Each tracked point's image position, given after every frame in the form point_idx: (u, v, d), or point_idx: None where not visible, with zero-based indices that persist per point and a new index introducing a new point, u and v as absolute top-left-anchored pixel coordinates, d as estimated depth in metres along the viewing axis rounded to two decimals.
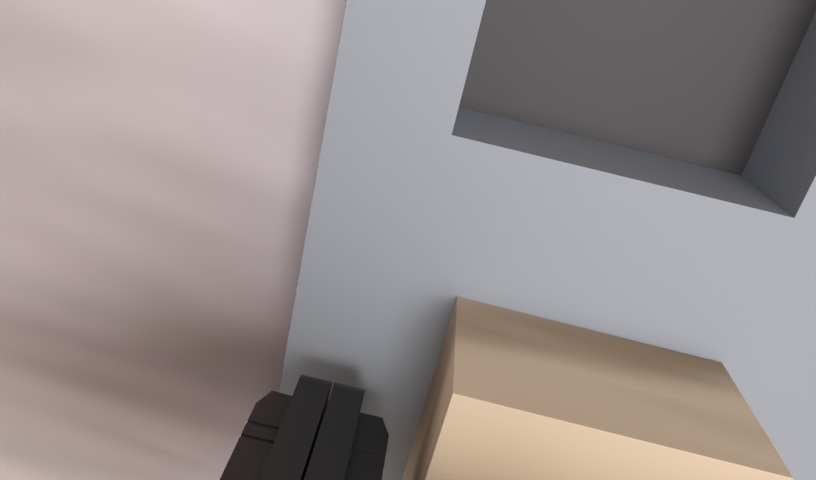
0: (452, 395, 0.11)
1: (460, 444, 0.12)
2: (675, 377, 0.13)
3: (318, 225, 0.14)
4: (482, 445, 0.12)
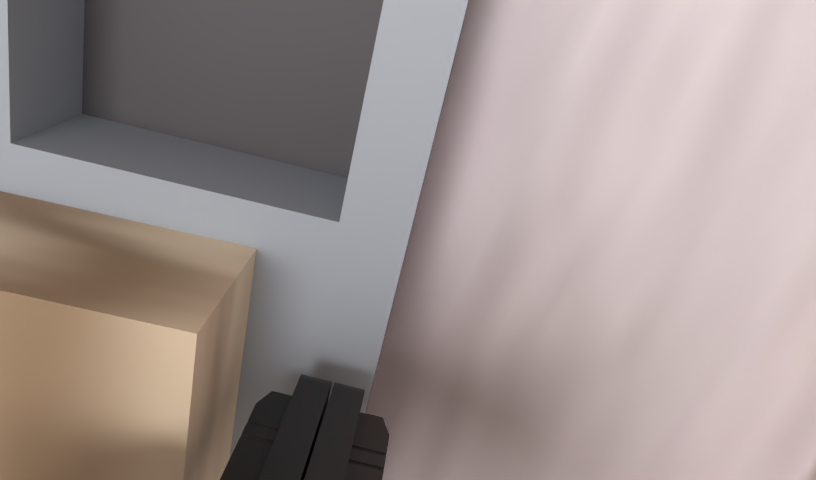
0: None
1: None
2: None
3: None
4: None
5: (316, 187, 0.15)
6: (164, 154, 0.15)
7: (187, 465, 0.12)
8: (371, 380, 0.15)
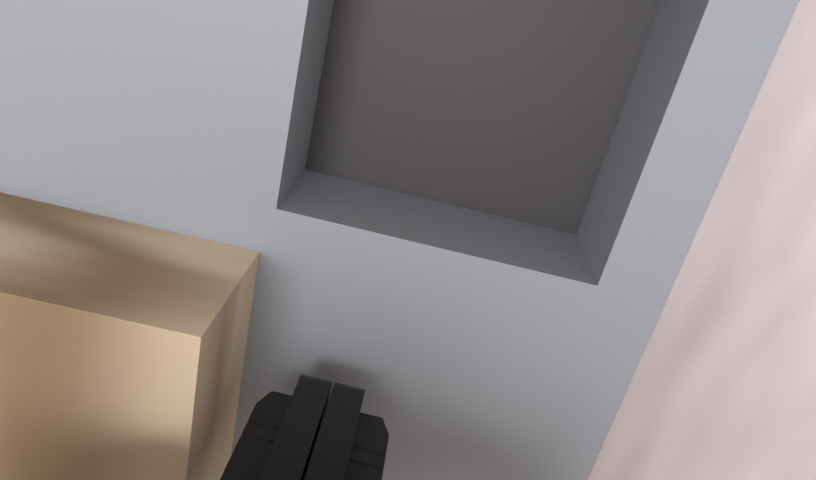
0: None
1: None
2: None
3: None
4: None
5: (550, 245, 0.15)
6: (404, 214, 0.15)
7: (189, 467, 0.12)
8: (604, 435, 0.15)
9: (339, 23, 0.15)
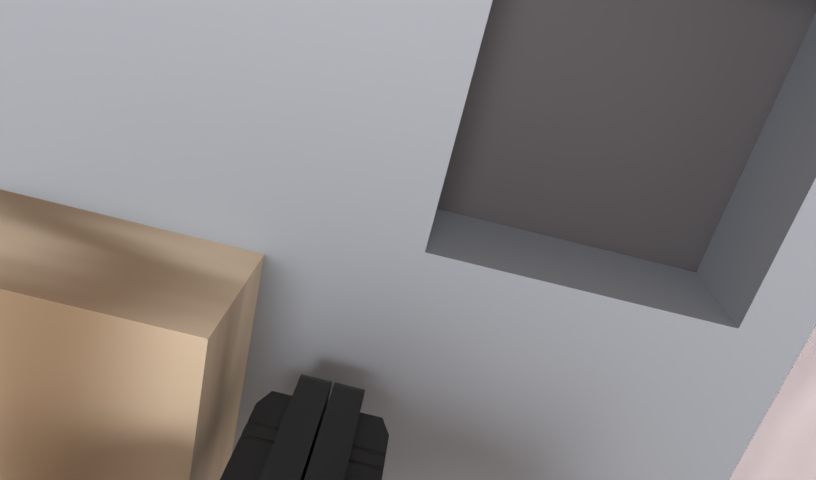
0: None
1: None
2: None
3: None
4: None
5: (678, 285, 0.16)
6: (537, 254, 0.15)
7: (193, 467, 0.13)
8: (731, 472, 0.16)
9: (477, 66, 0.15)
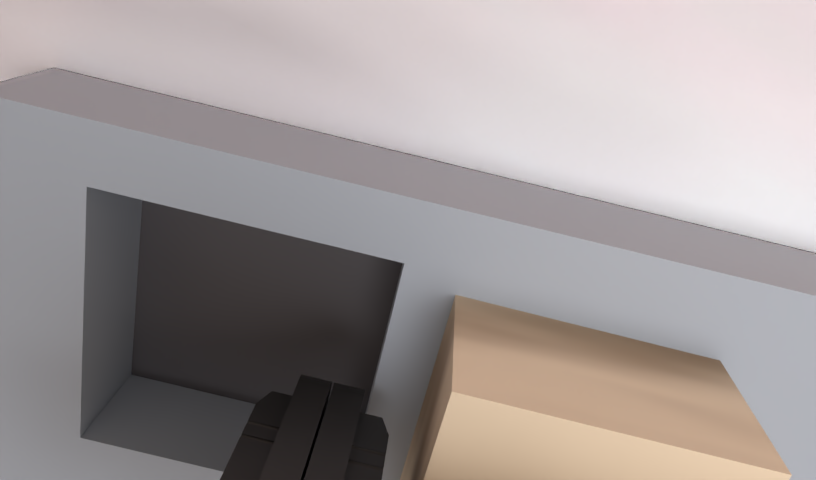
0: (452, 393, 0.11)
1: (459, 442, 0.12)
2: (673, 375, 0.13)
3: None
4: (481, 444, 0.12)
5: None
6: None
7: None
8: None
9: None
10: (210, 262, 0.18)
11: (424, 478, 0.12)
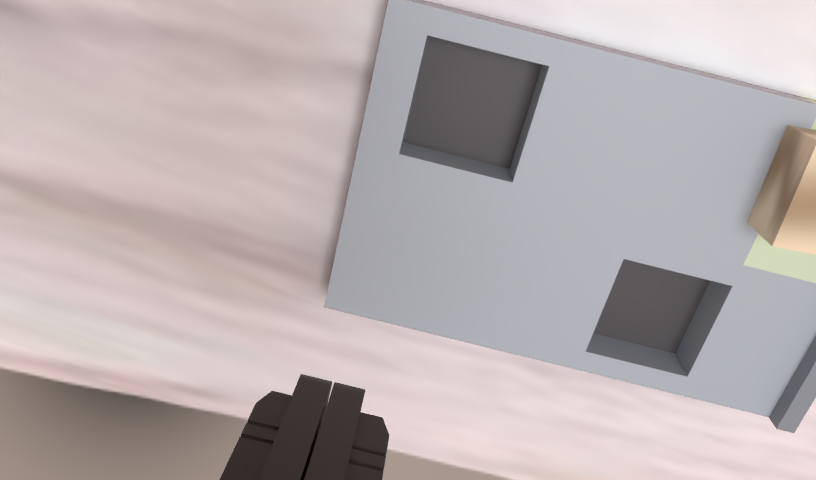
0: None
1: None
2: None
3: (353, 184, 0.40)
4: None
5: None
6: None
7: None
8: (524, 356, 0.44)
9: None
10: (450, 82, 0.40)
11: (801, 177, 0.34)
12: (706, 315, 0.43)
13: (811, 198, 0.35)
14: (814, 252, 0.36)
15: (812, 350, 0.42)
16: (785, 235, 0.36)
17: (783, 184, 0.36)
